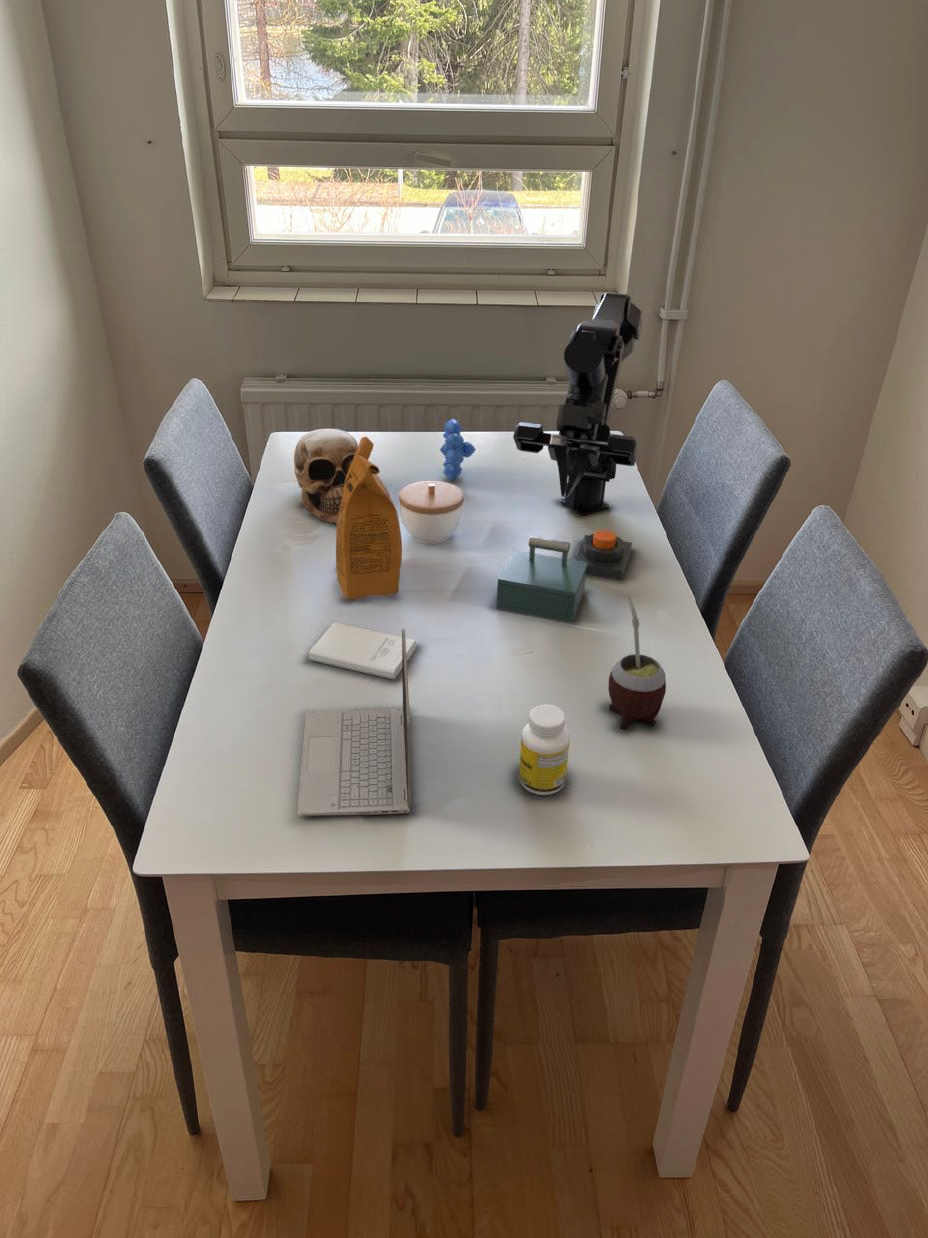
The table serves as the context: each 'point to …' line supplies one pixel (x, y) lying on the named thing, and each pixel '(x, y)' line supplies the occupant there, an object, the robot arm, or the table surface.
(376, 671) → the hard drive
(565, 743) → the supplement bottle
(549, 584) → the lid
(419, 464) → the table surface
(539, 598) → the dark green toolbox
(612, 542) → the button
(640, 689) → the mate gourd
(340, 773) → the laptop
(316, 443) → the skull
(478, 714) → the table surface
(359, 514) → the coffee package
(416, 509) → the trinket box
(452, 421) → the grapes
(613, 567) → the button block
